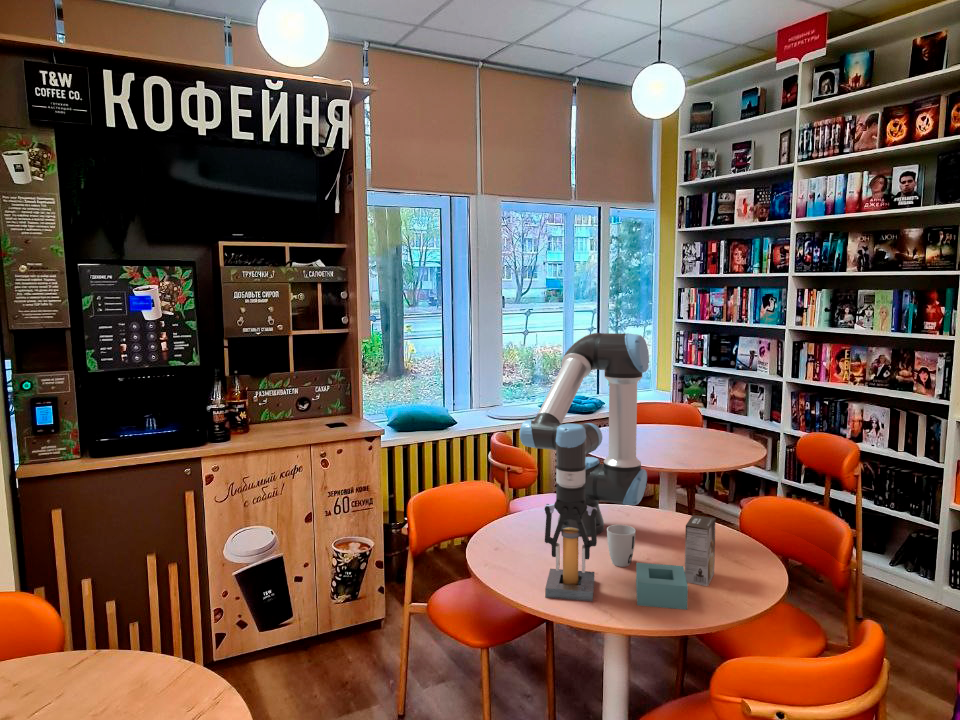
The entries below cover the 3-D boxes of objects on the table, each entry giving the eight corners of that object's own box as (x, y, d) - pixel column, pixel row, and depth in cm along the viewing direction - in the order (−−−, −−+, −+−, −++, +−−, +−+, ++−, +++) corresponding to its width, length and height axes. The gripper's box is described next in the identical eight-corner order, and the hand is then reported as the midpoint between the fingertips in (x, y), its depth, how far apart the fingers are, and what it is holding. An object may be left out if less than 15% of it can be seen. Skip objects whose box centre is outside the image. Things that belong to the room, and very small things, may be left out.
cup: (635, 570, 184) (636, 535, 183) (606, 567, 185) (606, 533, 184) (634, 558, 192) (635, 525, 191) (606, 556, 193) (606, 523, 192)
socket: (636, 584, 175) (636, 562, 174) (682, 587, 173) (683, 566, 172) (637, 605, 163) (637, 582, 163) (687, 609, 161) (687, 586, 160)
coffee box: (690, 569, 184) (692, 514, 182) (714, 573, 181) (716, 517, 179) (683, 582, 176) (685, 524, 174) (708, 587, 173) (710, 528, 171)
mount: (550, 577, 180) (550, 568, 180) (594, 580, 177) (594, 571, 177) (545, 597, 168) (545, 588, 168) (592, 601, 166) (592, 592, 165)
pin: (562, 584, 176) (562, 526, 174) (580, 585, 175) (580, 527, 173) (560, 592, 171) (560, 533, 169) (579, 593, 170) (579, 534, 168)
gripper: (532, 486, 168) (532, 572, 171) (607, 490, 164) (607, 578, 167) (536, 478, 175) (536, 560, 178) (608, 481, 171) (607, 566, 174)
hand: (570, 569), depth 172 cm, fingers open, 6 cm apart
